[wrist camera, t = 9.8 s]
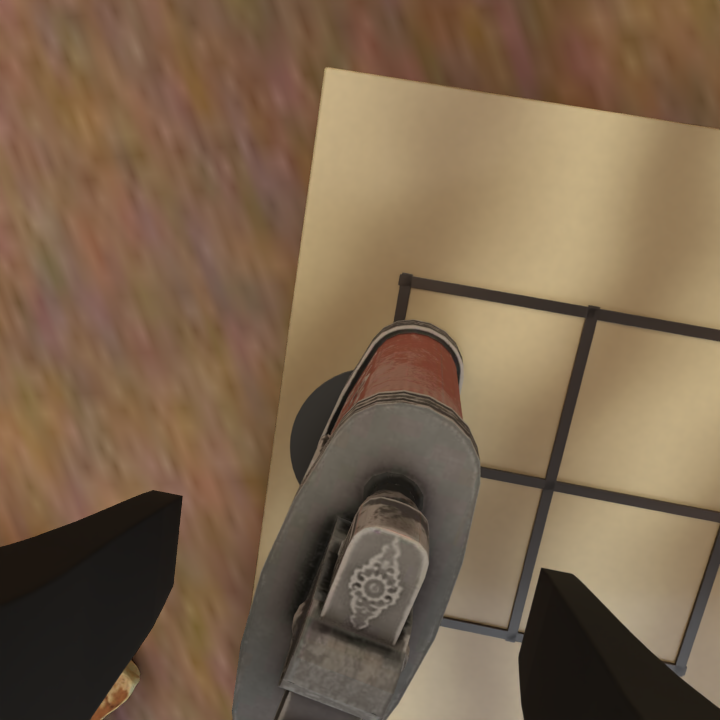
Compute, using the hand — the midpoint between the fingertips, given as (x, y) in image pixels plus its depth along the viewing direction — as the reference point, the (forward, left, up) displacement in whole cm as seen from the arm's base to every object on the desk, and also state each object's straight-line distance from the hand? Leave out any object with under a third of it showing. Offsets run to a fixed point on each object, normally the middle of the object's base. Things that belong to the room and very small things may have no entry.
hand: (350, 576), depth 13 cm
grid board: (-5, 0, -8) cm, 9 cm away
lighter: (0, 0, -7) cm, 7 cm away
